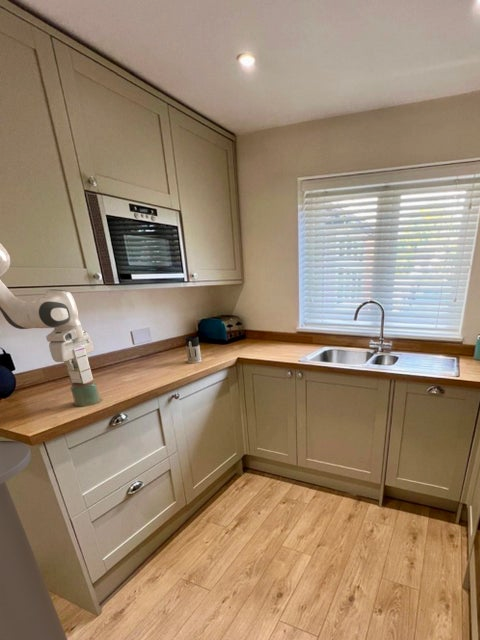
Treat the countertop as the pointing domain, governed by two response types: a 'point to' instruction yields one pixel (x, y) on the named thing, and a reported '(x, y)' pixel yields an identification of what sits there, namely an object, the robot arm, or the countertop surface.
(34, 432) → the countertop surface
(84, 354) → the syrup box
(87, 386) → the green lidded jar
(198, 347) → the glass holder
